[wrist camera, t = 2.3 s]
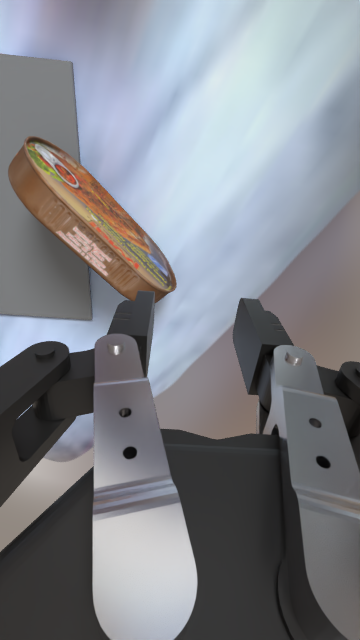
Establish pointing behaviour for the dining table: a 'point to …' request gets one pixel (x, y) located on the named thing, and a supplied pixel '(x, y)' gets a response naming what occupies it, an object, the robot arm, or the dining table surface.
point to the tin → (88, 220)
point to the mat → (9, 212)
